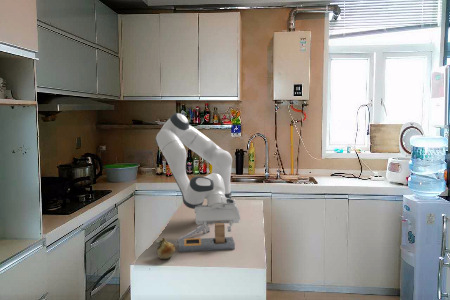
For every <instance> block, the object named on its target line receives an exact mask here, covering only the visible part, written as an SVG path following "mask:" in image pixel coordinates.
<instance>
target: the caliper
mask: <svg viewBox="0 0 450 300" xmlns="http://www.w3.org/2000/svg"><path fill="white" fill-rule="evenodd" d="M207 227H209V224H207ZM201 232H202V233H203V234H204V235H205V234H206V229H205V227H204V224H201V225H199V226H197V227H196V228H195V229H194V230H191V231H190V232H188V233H187V234H185V235H182V236H181V237H178V238H177V239H176V241H175V242H174V243H176V244H177V243H179V240H182V239H189V238H190V237H192V236H193V235H195V234H200V233H201Z"/></svg>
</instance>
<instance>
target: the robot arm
mask: <svg viewBox="0 0 450 300" xmlns="http://www.w3.org/2000/svg"><path fill="white" fill-rule="evenodd" d="M155 144H156V146H157V147H158V148H159V150H160V152H161V153H162V155H163V157H164V158H165V161H166V163H167V164H168V167H169V169H170V171H171V174H172V177H173V179H174V180H175V181H174V182H176V184H177V186H178V188H179V191H180V193H181V198H182V202H183V204H184V206H186V207H187V208H189V209H194V213H195V224H196V225H197V226H198V225H199V226H201V225H203V224H204V227H205V232H206V233H208V234H209V233H210V231H211V229H210V227H209V226H208V227H207V224H208V225H215V223H224V225H225V224H229V226H227V228H226V229H227V232H232V227H233V224H239V223H240V221H241V214H240V210H239V206H238V205H237V202H236V199H233V198H232V191H231V175H232V166H233V165H232V164H233V157H232V155H231V153H230V152H229V151H227V150H224V149H223V148H222V147H220V146H219V145H218V144H216V143H215V142H214V141H213V140H212V139H210V138H209V137H207V136H206V135H205V134H203V133H202V132H201V131H200V130H198V129H197V128H195V127H193V126H192V125H190V121H189V119H188V118H187V116H185V115H184V114H183V113H180V112H174V113H173V114H172V115H170V117H169V118H168V119H167V120H166V121H165V122H164V124H163V126H162V127H161V128H160V130H159V132H158V133H156V136H155ZM185 146H186V147H185ZM186 148H189V150H191V151H192V152H194V154H196V155H198V156H199V157H200V158H201V159H203V160H205V161H206V162H207V163H208V164H210V165H211V166H212V167H211V168H212V169H211V173H210V174H207V175H206V176H199V175H197V176H193V177H192V178H191V179H190V178H189V177H188V174H187V171H186V166H187V165H186V164H187V157H188V153H187V149H186ZM205 199H206V203H207V204H204V201H205Z"/></svg>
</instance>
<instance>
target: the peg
mask: <svg viewBox="0 0 450 300" xmlns="http://www.w3.org/2000/svg"><path fill="white" fill-rule="evenodd" d="M225 228H226V227H225V224H224V223H215V224H214V238H215V243H225V236H226V235H225V233H226V232H225V231H226V229H225Z"/></svg>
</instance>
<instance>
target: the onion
mask: <svg viewBox="0 0 450 300" xmlns="http://www.w3.org/2000/svg"><path fill="white" fill-rule="evenodd" d="M155 243H156V244H157V245H159V246H158V247H157V248H156V253H157V256H158V258H160V259H161V260H167V259H170V258H171V257H172V256H173V255H174V254H175V251H176V246H175V245H174V244H173V243H172V242H169V241H167V240H166V238H164V237H163V238H161V239H160V240H158V239H156V241H155Z"/></svg>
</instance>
